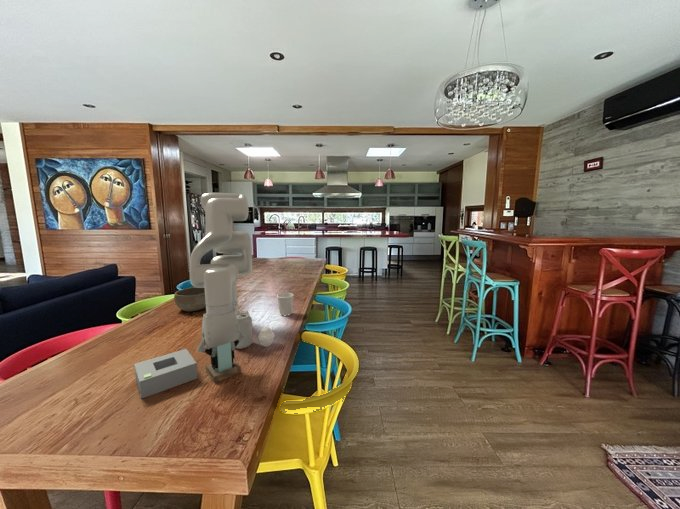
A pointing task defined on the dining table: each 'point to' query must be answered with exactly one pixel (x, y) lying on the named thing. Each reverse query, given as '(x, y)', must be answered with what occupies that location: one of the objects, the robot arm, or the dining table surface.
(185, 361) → the port block
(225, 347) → the plug
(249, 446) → the dining table surface
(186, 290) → the bowl
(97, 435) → the dining table surface
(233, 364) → the square wooden frame
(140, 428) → the dining table surface
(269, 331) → the white rounded lump
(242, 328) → the can
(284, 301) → the dixie cup
